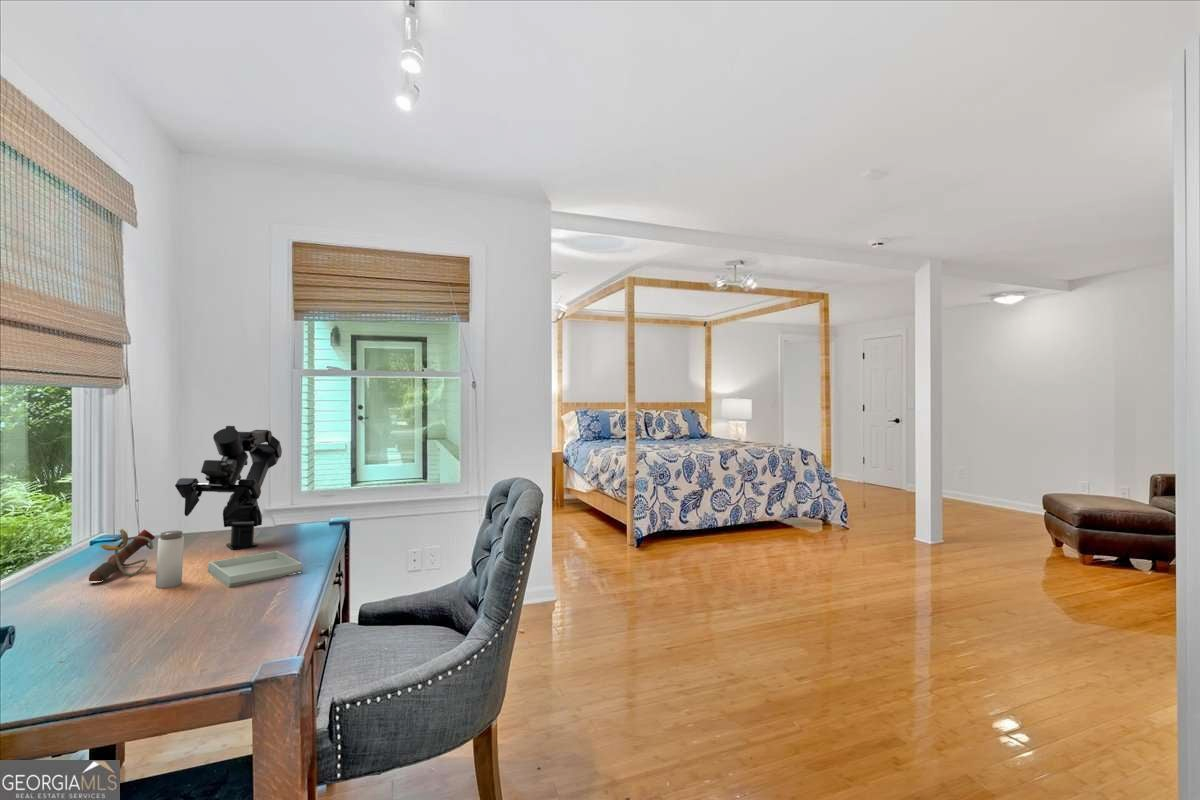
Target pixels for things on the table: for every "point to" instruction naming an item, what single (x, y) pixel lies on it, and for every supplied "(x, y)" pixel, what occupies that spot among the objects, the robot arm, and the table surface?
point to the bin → (253, 568)
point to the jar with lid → (169, 559)
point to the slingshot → (122, 555)
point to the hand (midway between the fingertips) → (205, 515)
